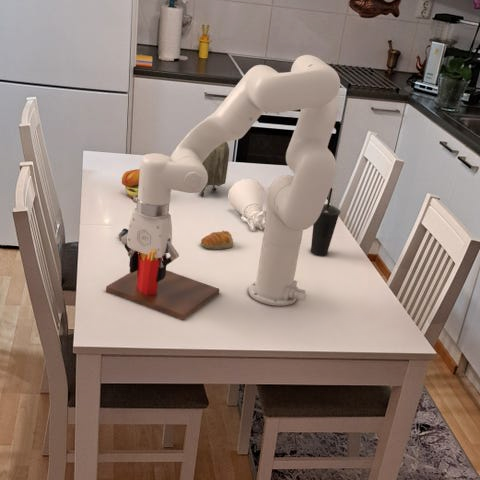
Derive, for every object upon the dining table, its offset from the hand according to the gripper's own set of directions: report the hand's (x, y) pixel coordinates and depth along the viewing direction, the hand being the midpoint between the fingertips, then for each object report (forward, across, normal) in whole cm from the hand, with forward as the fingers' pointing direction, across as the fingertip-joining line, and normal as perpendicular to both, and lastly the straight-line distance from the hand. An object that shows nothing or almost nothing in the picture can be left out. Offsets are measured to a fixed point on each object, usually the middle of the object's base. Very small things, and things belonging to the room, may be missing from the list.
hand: (146, 274), depth 196 cm
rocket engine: (+5, -4, +64) cm, 64 cm away
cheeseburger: (+5, -39, +57) cm, 69 cm away
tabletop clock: (+5, -25, +78) cm, 82 cm away
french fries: (+4, 0, 0) cm, 4 cm away
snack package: (+5, -19, +28) cm, 34 cm away
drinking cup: (+5, +24, +57) cm, 62 cm away
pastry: (+5, -1, +40) cm, 40 cm away
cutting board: (+5, +3, +4) cm, 7 cm away
